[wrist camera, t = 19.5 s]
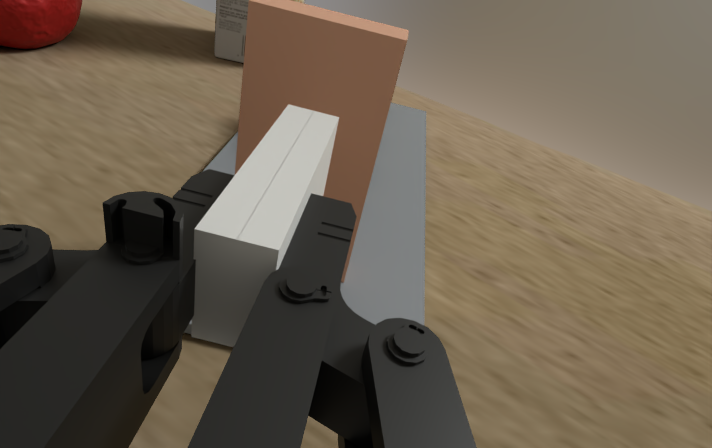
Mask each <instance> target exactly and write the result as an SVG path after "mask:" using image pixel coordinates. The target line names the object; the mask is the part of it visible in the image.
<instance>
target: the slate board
mask: <svg viewBox="0 0 712 448" xmlns="http://www.w3.org/2000/svg"><path fill="white" fill-rule="evenodd" d="M237 140H238V132H237V133H236V134H235V136H234V137H233V138H232V139H231V140H230V141H229V142H228V143H227V145H226V146H225V147H224V148H223V149H222V150H221V151H220V152H219V154H218V155H217V156H216V157H215V158H214V159H213V160H212V161H211V163H210V164H209V165H208V166H207V167H206V168H205V169H204V170H203V171H205V170H207V169H212V170H215V171H219V172H223V173H227V174H231V175H235V165H236V152H237ZM425 179H426V111H422V110H418V109H414V108H411V107H407V106H403V105H399V104H395V103H391V104H390V108H389V112H388V116H387V119H386V123H385V127H384V131H383V135H382V139H381V142H380V146H379V150H378V154H377V158H376V161H375V165H374V169H373V173H372V177H371V181H370V184H369V188H368V192H367V196H366V200H365V203H364V207H363V211H362V215H361V219H360V223H359V226H358V230H357V234H356V238H355V242H354V245H353V249H352V253H351V257H350V261H349V265H348V268H347V272H346V276H345V280H344V283H343V282H341V285H340V291H341V294H342V298H343V299H344V301H345V302H346V304H347V306H348V307H350V308H351V309H352V310H353V311H354V312H355V313H356V314H358V315H359V316H361V317H362V318H364V319H366V320H367V321H369V322H371V323H373V324H375V325H376V324H377V323H379V322H381V321H383V320H385V319H389V318H404V319H409V320H413V321H416V322H418V323H420V324H422V325H424V291H425ZM191 329H192V320H191V321H190V323H189V325H188V326H187V328H186V330H185V331H184V333H188V334H191Z"/></svg>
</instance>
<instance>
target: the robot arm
mask: <svg viewBox="0 0 712 448" xmlns="http://www.w3.org/2000/svg"><path fill="white" fill-rule="evenodd" d="M338 121H339V117H336V116H332V115H328V114H324V113H321V112H317V111H313V110H309V109H305V108H301V107H297V106H293V105H289V104H288V106H287V107H286V108H285V110H284V111H283V112H282V114H281V115H280V116H279V118H278V119H277V120H276V122H275V123H274V124H273V126H272V127H271V128H270V130H269V131H268V132H267V134H266V135H265V136H264V137H263V139H262V140H261V141H260V143H259V144H258V145H257V147H256V148H255V149H254V151H253V152H252V153H251V155H250V156H249V157H248V159H247V160H246V161H245V163H244V164H243V165H242V167H241V168H240V169H239V171H238V172H237V173H236V175H231V174H227V173H223V172H219V171H215V170H212V169H207V170H205V171H203V172H201V173H198V174H196V175H194V176H192V177H191V178H190V179H189V180H188V181H187V182H186V183H185V184H184V185H183V186H182V187H181V190H179V191H178V192H177V193H176V194H175V195H174V196H173V198H170V197H168V196H165V195H163V194H160V193H153V192H146V191H141V192H128V193H124V194H120V195H116V196H113V197H112V198H110V199H108V200H107V201H105V202H103V211H104V222H105V232H106V243H105V244H104V245H103V246H102V247H101V248H100V249H99V250H88V251H84V250H52V245H51V241H50V238H49V235H47V234H46V233H45V232H43V231H42V230H41V229H39V228H35V227H31V226H28V225H15V224H7V225H0V448H128V447H129V445H130V444H131V442H132V440H133V438H134V437H135V435H136V433H137V431H138V429H139V428H140V426H141V424H142V422H143V421H144V419H145V417H146V415H147V414H148V412H149V410H150V408H151V406H152V405H153V403H154V401H155V399H156V398H157V396H158V394H159V392H160V391H161V389H162V387H163V385H164V384H165V382H166V380H167V378H168V376H169V375H170V373H171V371H172V369H173V368H174V366H175V364H176V362H177V361H178V359H179V356H180V352H181V349H182V335H183V333H184V331H185V330H186V328H187V326H188V325H189V323H190V321H191V320H192V329H191V337H194V338H198V339H202V340H206V341H210V342H214V343H218V344H222V345H226V346H230V347H234V348H233V350H232V352H231V354H230V357H229V359H228V361H227V363H226V365H225V368H224V370H223V372H222V374H221V376H220V378H219V381H218V383H217V385H216V387H215V389H214V391H213V394H212V396H211V398H210V400H209V402H208V405H207V407H206V409H205V411H204V413H203V415H202V418H201V420H200V422H199V424H198V426H197V428H196V431H195V433H194V435H193V437H192V439H191V441H190V444H189V446H188V448H300V446H301V442H302V438H303V434H304V430H305V426H306V422H307V418H308V416H310V417H312V418H313V419H315V420H316V421H318V422H320V423H321V424H323V425H324V426H326V427H328V428H329V429H331V430H332V431H334V432H336V433H337V434H338V447H339V448H477V447H476V444H475V441H474V438H473V435H472V432H471V429H470V426H469V423H468V419H467V416H466V413H465V410H464V407H463V404H462V401H461V398H460V395H459V391H458V388H457V385H456V382H455V379H454V376H453V373H452V370H451V366H450V363H449V360H448V357H447V354H446V351H445V349H444V347H443V345H442V343H441V341H440V339H439V338H438V337H437V336H436V335H435V334H434V333H433V332H432V331H431V330H430V329H429V328H427V327H426V326H424V325H422V324H420V323H418V322H416V321H413V320H409V319H404V318H389V319H385V320H383V321H381V322H379V323H377V324H376V325H375V324H373V323H371V322H369V321H367V320H366V319H364V318H362V317H361V316H359V315H358V314H356V313H355V312H354V311H353V310H352V309H351V308H350V307H348V306H347V304H346V302H345V301H344V299H343V298H342V294H341V291H340V285H341V279H342V275H343V271H344V267H345V263H346V259H347V255H348V251H349V246H350V242H351V238H352V234H353V230H354V226H355V222H356V218H357V216H356V214H355V211H354V209H353V207H352V204H351V203H348V202H344V201H340V200H336V199H332V198H328V197H324V196H323V195H324V190H325V185H326V180H327V175H328V170H329V165H330V160H331V155H332V150H333V146H334V141H335V136H336V131H337V126H338Z"/></svg>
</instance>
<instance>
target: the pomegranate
mask: <svg viewBox="0 0 712 448" xmlns="http://www.w3.org/2000/svg"><path fill="white" fill-rule="evenodd" d="M81 6H82V0H0V46H6V47H12V48H19V49H30V48H39V47H42V46H46V45H49V44H53V43H57V42H59V41H61V40H63V39H65V37H66V36H67V35H68V34H69V33H70V32H71V31H72V30H73V29H74V27H75V26H76V23H77V21H78V18H79V15H80V10H81Z"/></svg>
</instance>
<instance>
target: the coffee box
mask: <svg viewBox="0 0 712 448" xmlns="http://www.w3.org/2000/svg"><path fill="white" fill-rule="evenodd" d="M292 1H296V2H300V3H304V4H305V0H292ZM248 2H249V0H217V1H216V19H215V49H214V55H215V56H216V57H218V58H223V59H227V60H232V61H236V62H241V63H244V52H245V40H246V27H247V15H248Z"/></svg>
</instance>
